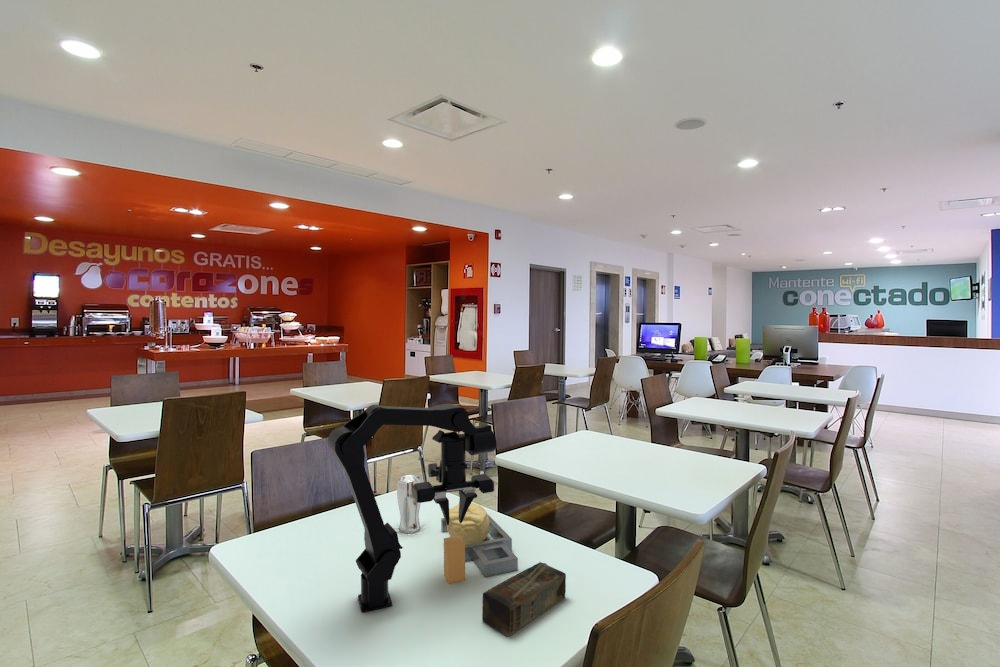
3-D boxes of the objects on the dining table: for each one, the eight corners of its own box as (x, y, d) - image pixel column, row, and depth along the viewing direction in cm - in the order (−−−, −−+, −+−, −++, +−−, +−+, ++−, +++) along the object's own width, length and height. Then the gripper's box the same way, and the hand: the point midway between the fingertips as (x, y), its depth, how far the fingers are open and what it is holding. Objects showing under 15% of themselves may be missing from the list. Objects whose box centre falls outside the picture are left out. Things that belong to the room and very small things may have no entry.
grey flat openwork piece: (527, 568, 123) (527, 554, 123) (475, 579, 118) (475, 564, 118) (484, 522, 150) (484, 511, 150) (441, 530, 145) (441, 518, 145)
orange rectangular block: (465, 579, 118) (464, 542, 118) (448, 583, 117) (448, 545, 116) (460, 571, 122) (459, 535, 122) (444, 575, 120) (443, 538, 120)
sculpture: (442, 549, 133) (441, 509, 133) (454, 530, 145) (454, 493, 145) (484, 553, 131) (483, 512, 131) (493, 533, 143) (493, 496, 143)
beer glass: (393, 532, 144) (392, 480, 143) (404, 522, 151) (404, 473, 150) (415, 535, 142) (414, 483, 141) (425, 525, 149) (425, 475, 148)
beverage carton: (567, 599, 110) (567, 569, 110) (508, 640, 97) (508, 607, 96) (539, 585, 116) (539, 557, 116) (479, 623, 102) (479, 591, 102)
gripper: (478, 445, 129) (479, 505, 130) (406, 453, 122) (407, 517, 123) (495, 457, 119) (495, 521, 120) (417, 466, 112) (418, 535, 112)
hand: (454, 523), depth 119 cm, fingers open, 3 cm apart
